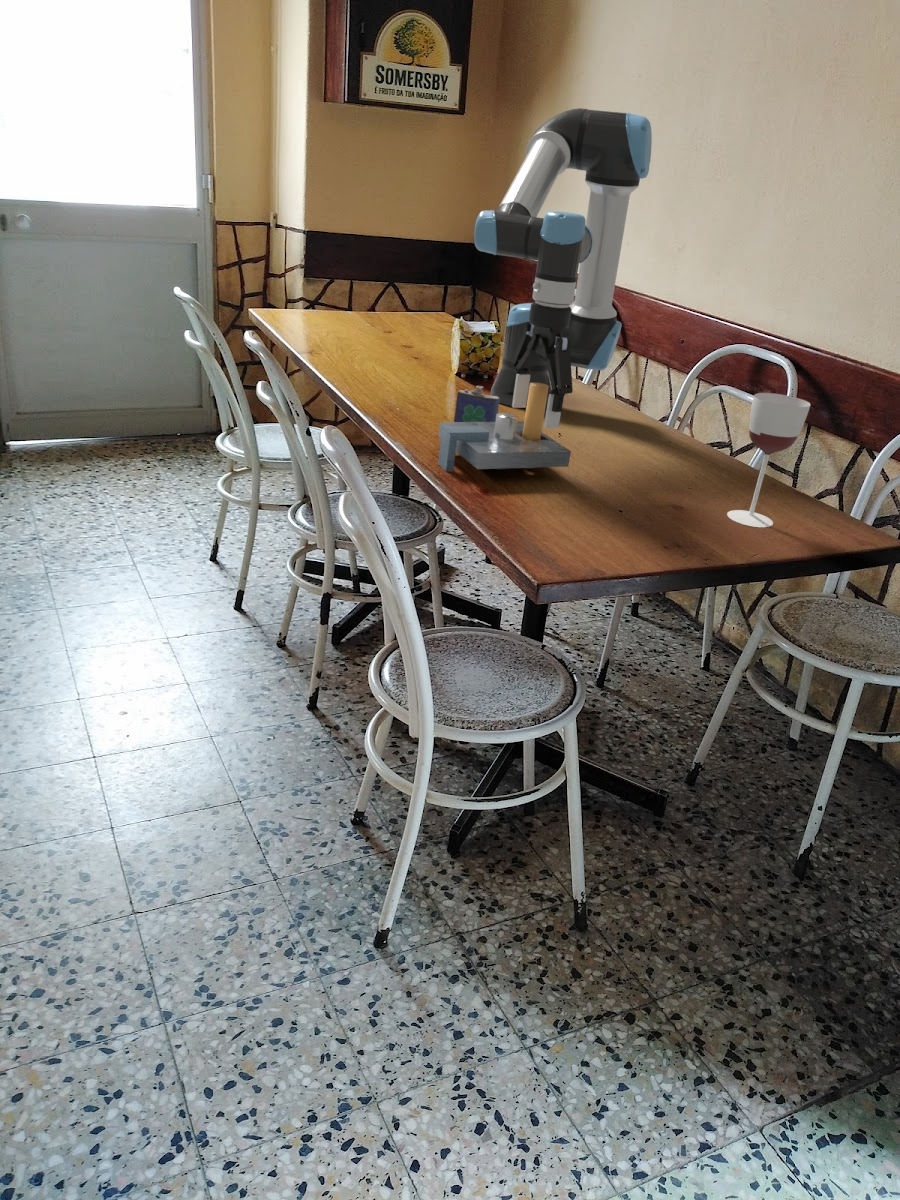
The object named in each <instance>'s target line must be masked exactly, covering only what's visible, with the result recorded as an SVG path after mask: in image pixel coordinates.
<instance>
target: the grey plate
mask: <svg viewBox="0 0 900 1200" xmlns="http://www.w3.org/2000/svg"><path fill="white" fill-rule="evenodd" d="M523 427H524V421H518V416H517V415H515V414H512V413H508V412H507V413H506V412H500V413H499V412H498V414H496V421H495V422H454V421H440V422H439V427H438V438H439V439H440V443H439V444H440V445H439V452H438V462H437V464H439V465H440V468H442V469H443V470H444V471H445V472H454V467H455V462H456V461H455V460H456V453H457V454H458V455H460V456H461V457H462V458H463V459H465V460H466V461H467V463H469V464H471V465H472V466H473V467H474V468H476V470H492V469H495V470H501V471H502V470H504V471H505V470H509V469H534V468H533V467H535V468H558V467H559V468H562V467H563V468H564V467H566V468H567V467H569V465H570V460H571V459H570V458H571V454H572V450H570V449H568V448H567V447H565V446H564V445H562V444H561V443H559V442H558V441H556V440H555V439H553V438H552V437H550V436H548V435H547V434H546V433H544V432H541V438H540V440H525V439H524V438H522V433H523ZM439 465H438V466H439Z"/></svg>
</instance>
